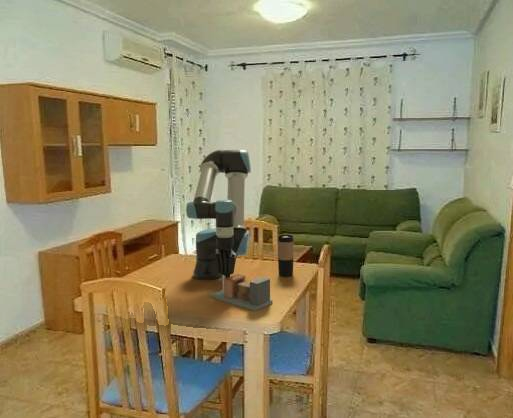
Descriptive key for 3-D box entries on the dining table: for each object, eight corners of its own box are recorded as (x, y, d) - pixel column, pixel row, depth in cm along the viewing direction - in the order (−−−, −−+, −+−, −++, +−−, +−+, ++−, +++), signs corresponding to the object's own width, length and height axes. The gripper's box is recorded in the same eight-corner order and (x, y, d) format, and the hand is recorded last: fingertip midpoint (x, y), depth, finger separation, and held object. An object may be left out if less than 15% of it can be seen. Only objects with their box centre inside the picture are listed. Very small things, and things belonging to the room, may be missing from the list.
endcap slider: (224, 296, 190) (224, 278, 189) (238, 291, 197) (237, 274, 195) (231, 298, 187) (231, 280, 186) (245, 293, 194) (245, 275, 193)
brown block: (237, 297, 188) (237, 284, 188) (243, 295, 191) (243, 281, 191) (259, 304, 181) (258, 289, 180) (265, 301, 184) (265, 287, 183)
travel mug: (277, 273, 229) (277, 234, 226) (292, 272, 229) (292, 234, 226) (279, 277, 221) (279, 237, 218) (294, 276, 222) (294, 237, 219)
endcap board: (211, 297, 194) (210, 273, 192) (229, 290, 202) (228, 267, 200) (255, 310, 178) (254, 284, 176) (272, 303, 186) (272, 278, 184)
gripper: (208, 235, 193) (209, 288, 196) (229, 239, 185) (230, 294, 188) (220, 232, 199) (221, 284, 202) (241, 236, 190) (242, 290, 193)
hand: (225, 289), depth 195 cm, fingers closed
